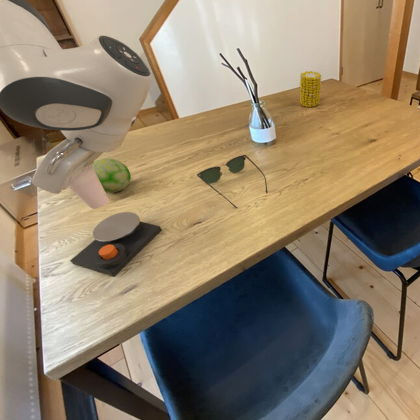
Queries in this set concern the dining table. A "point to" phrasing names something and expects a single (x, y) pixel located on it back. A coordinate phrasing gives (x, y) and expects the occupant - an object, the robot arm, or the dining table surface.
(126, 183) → the decorative ball
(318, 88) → the food
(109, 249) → the tare button
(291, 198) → the dining table surface
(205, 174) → the sunglasses
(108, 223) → the scale pan
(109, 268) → the scale
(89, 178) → the smoothie
